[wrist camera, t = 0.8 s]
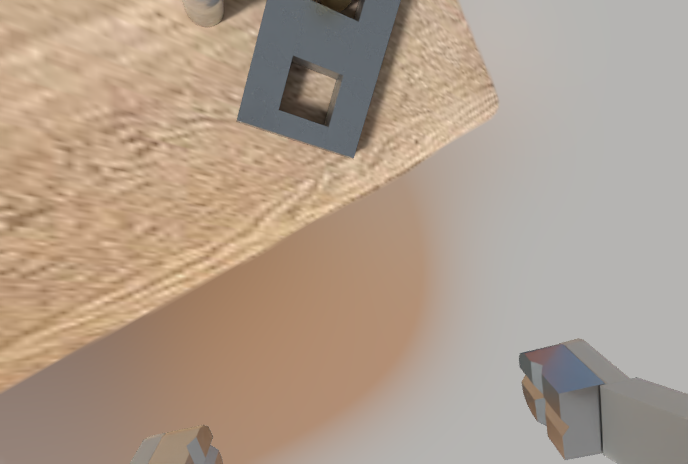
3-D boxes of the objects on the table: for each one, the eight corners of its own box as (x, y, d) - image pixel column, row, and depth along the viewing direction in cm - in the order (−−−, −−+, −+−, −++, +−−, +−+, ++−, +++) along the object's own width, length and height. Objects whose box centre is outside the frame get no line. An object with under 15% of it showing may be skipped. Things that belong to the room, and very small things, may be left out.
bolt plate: (236, 121, 44) (238, 115, 35) (289, -89, 41) (306, -158, 32) (346, 157, 49) (374, 160, 39) (401, -30, 45) (445, -75, 36)
